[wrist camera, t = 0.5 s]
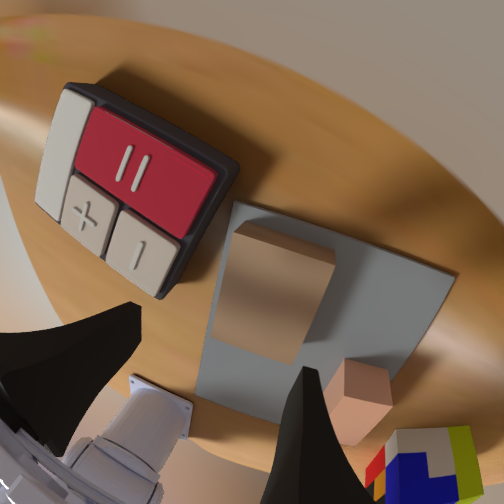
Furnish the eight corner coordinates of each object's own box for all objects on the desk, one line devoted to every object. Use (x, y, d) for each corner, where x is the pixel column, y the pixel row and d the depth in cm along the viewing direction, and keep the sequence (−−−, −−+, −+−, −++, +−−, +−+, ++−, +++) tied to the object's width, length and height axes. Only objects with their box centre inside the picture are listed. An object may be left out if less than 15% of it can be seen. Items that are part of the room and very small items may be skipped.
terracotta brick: (355, 412, 23) (354, 446, 19) (316, 402, 23) (310, 437, 19) (387, 369, 20) (393, 406, 16) (344, 358, 21) (343, 396, 17)
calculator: (156, 308, 20) (27, 204, 19) (180, 280, 24) (59, 192, 23) (228, 172, 15) (58, 80, 14) (246, 163, 19) (94, 82, 18)
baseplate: (341, 435, 25) (341, 439, 24) (196, 391, 27) (194, 394, 27) (452, 275, 17) (455, 278, 16) (236, 200, 19) (234, 201, 18)
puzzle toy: (395, 428, 23) (399, 509, 14) (469, 424, 21) (483, 494, 12) (365, 468, 27) (360, 533, 18) (431, 465, 25) (435, 525, 16)
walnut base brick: (296, 343, 21) (291, 365, 19) (221, 318, 22) (210, 337, 20) (334, 249, 18) (335, 265, 16) (245, 220, 19) (233, 232, 16)
